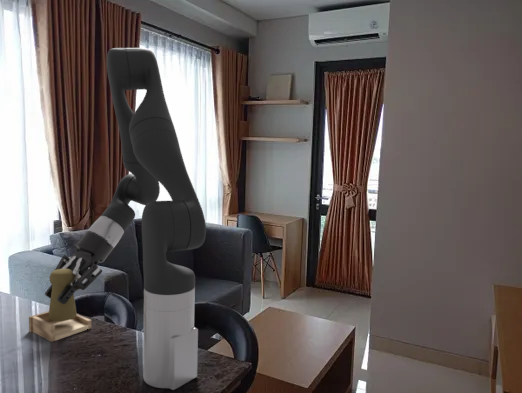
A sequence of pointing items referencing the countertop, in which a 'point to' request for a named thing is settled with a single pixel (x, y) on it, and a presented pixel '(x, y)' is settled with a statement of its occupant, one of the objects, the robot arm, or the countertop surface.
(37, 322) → the wooden open tray
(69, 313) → the cork
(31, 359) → the countertop surface
